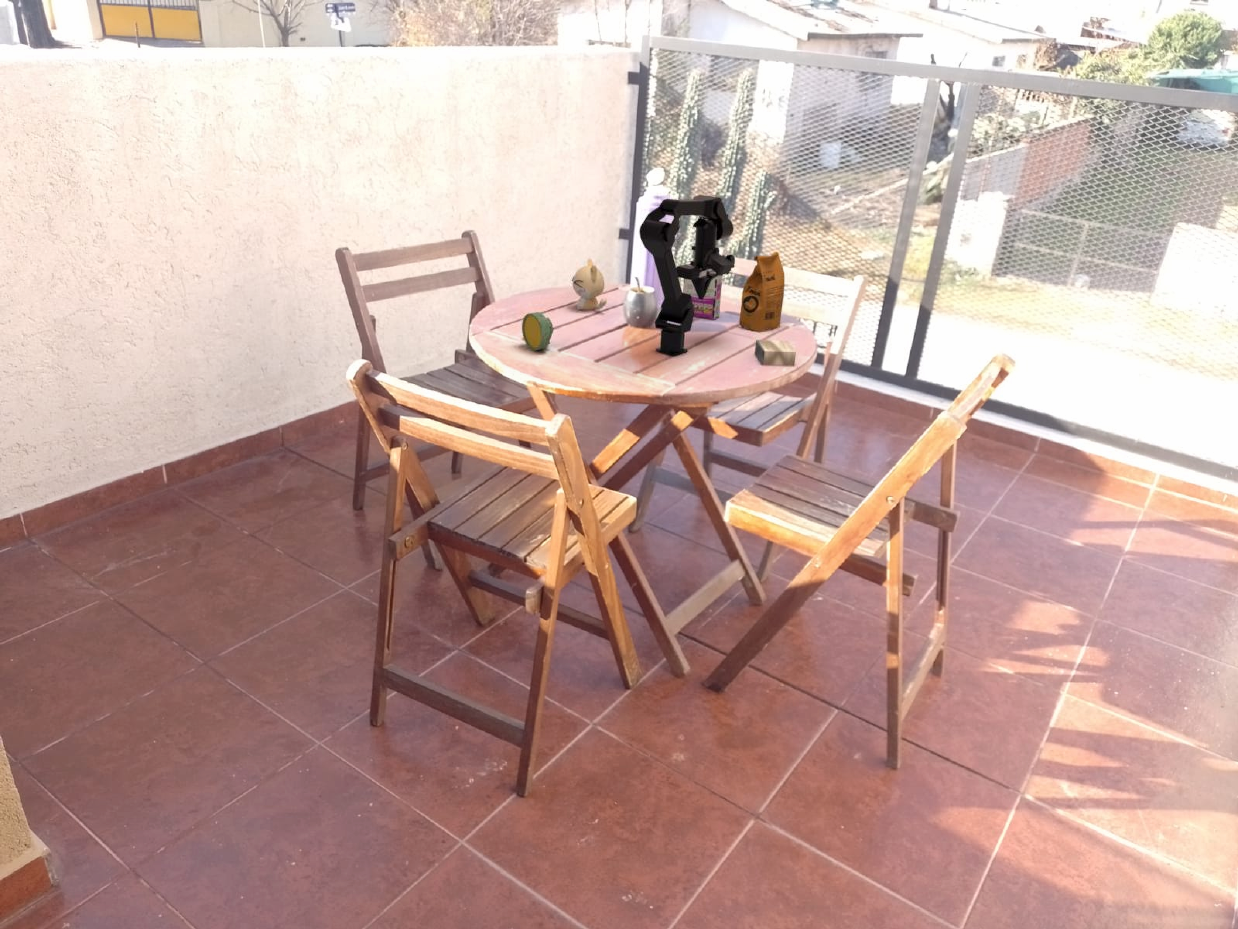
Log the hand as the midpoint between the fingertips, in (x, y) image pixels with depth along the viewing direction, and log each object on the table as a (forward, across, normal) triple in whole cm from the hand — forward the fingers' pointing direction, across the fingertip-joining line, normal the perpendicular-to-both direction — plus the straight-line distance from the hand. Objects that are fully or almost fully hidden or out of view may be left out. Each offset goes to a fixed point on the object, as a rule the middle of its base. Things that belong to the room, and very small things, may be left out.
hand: (701, 299), depth 253 cm
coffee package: (+12, +26, -3) cm, 29 cm away
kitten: (+12, -1, +44) cm, 46 cm away
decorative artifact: (+12, -39, +23) cm, 47 cm away
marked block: (+10, -1, -22) cm, 24 cm away
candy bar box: (+12, +21, +16) cm, 29 cm away
